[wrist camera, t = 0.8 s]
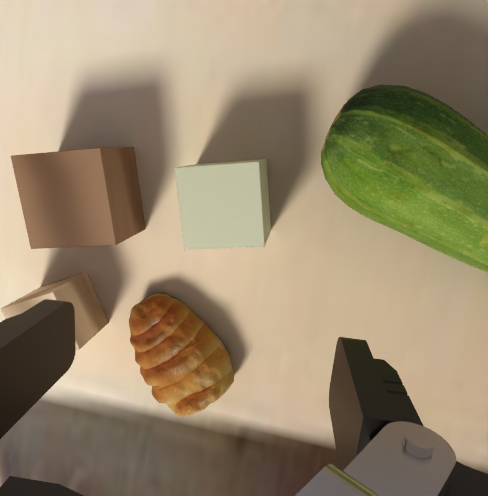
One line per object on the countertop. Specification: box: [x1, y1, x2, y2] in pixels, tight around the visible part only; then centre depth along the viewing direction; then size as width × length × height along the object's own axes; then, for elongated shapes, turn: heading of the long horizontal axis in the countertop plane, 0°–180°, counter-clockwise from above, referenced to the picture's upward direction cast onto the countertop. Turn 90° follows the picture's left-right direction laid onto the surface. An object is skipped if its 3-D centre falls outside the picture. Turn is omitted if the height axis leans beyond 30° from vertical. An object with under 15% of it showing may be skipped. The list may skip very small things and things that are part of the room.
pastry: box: [129, 293, 234, 417], centre depth 30 cm, size 9×7×4 cm
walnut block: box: [11, 147, 145, 249], centre depth 27 cm, size 6×6×5 cm
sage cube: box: [175, 159, 271, 250], centre depth 26 cm, size 5×5×5 cm
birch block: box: [1, 272, 109, 350], centre depth 30 cm, size 4×4×4 cm
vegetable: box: [321, 85, 488, 272], centre depth 23 cm, size 7×7×20 cm
